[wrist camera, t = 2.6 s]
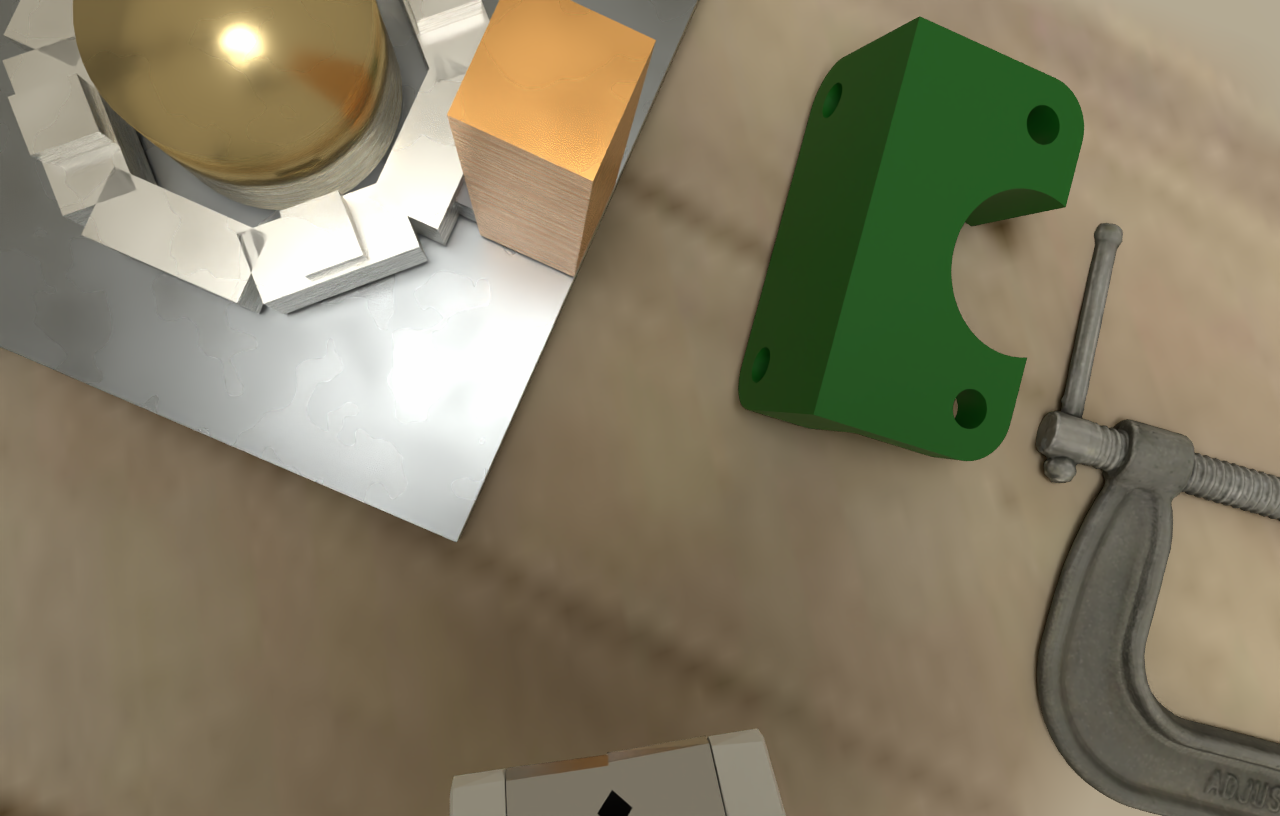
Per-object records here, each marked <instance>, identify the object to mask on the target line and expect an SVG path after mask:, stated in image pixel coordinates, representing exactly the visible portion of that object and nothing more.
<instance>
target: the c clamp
mask: <svg viewBox="0 0 1280 816" xmlns="http://www.w3.org/2000/svg"><path fill="white" fill-rule="evenodd" d="M1122 236H1123V232H1122V229H1121V228H1120V227H1119V226H1117V225H1115V224H1109V223H1104V224H1100V225H1099V226H1098V227H1097V229H1096V231H1095V233H1094V238H1095V248H1094V254H1093V258H1092V262H1091V266H1090V271H1089V276H1088V281H1087V286H1086V291H1085V296H1084V301H1083V306H1082V311H1081V315H1080V320H1079V324H1078V329H1077V335H1076V340H1075V345H1074V350H1073V354H1072V359H1071V364H1070V368H1069V373H1068V378H1067V383H1066V388H1065V394H1064V396H1063V398H1062V399H1061V402H1062V408H1061V412H1059V411H1054V412H1050V413H1048V414H1047V415H1046V416H1045V417H1044V419H1043V420H1042V422H1041V424H1040V426H1039V428H1038V432H1037V438H1036V447H1037V449H1038V451H1039V452H1041V453H1042V454H1044V455H1045V456H1046V457H1047V460H1046V461H1045V463H1044V473H1045V475H1046V476H1047V477H1048V478H1049V479H1050V480H1051V482H1055V483H1066V482H1069V481H1071V480H1072V478H1073V477H1074V476H1075V474H1076V465H1077V464H1083V465H1091V466H1093V467H1095V468H1096V469H1098V468H1101V469H1102V474H1103V476H1104V479H1105V485H1104V487H1103V489H1102V490H1101V492H1100V493H1099V495H1098V496H1097V498H1096V500H1095V501H1094V503H1093V505H1092V507H1091V508H1090V510H1089V512H1088V514H1087V515H1086V517H1085V519H1084V521H1083V523H1082V525H1081V528H1080V530H1079V532H1078V534H1077V536H1076V538H1075V540H1074V542H1073V545H1072V547H1071V549H1070V551H1069V554H1068V556H1067V558H1066V561H1065V563H1064V566H1063V569H1062V572H1061V575H1060V578H1059V581H1058V584H1057V587H1056V590H1055V593H1054V597H1053V600H1052V604H1051V607H1050V611H1049V615H1048V618H1047V622H1046V626H1045V629H1044V633H1043V636H1042V640H1041V644H1040V649H1039V655H1038V664H1037V686H1038V696H1039V701H1040V705H1041V710H1042V714H1043V718H1044V721H1045V724H1046V726H1047V729H1048V731H1049V734H1050V736H1051V738H1052V740H1053V742H1054V743H1055V745H1056V747H1057V749H1058V751H1059V752H1060V753H1061V755H1062V756H1063V757H1064V759H1065V760H1066V762H1067V763H1068V765H1069V766H1070V767H1071V768H1072V769H1073V770H1074V771H1075V772H1076V773H1077V774H1078V775H1079V776H1080V777H1081V778H1082V779H1083V780H1084V781H1085V782H1086V783H1088V784H1089V785H1090V786H1092V787H1093V788H1095V789H1096V790H1097V791H1099V792H1100V793H1102V794H1104V795H1105V796H1107V797H1109V798H1111V799H1113V800H1115V801H1116V802H1118V803H1121V804H1123V805H1126V806H1129V807H1132V808H1135V809H1139V810H1142V811H1146V812H1150V813H1154V814H1158V815H1162V816H1280V744H1278V743H1274V742H1271V741H1266V740H1263V739H1259V738H1255V737H1253V736H1248V735H1244V734H1240V733H1236V732H1233V731H1229V730H1225V729H1221V728H1217V727H1213V726H1209V725H1205V724H1201V723H1196V722H1193V721H1189V720H1185V719H1182V718H1180V717H1178V716H1176V715H1174V714H1173V713H1171V712H1170V711H1168V710H1167V709H1166V708H1164V707H1163V706H1162V705H1161V704H1160V703H1159V702H1158V701H1157V699H1156V698H1155V697H1154V695H1153V694H1152V692H1151V690H1150V688H1149V685H1148V682H1147V677H1146V672H1145V661H1144V653H1145V645H1146V641H1147V637H1148V633H1149V629H1150V626H1151V622H1152V618H1153V615H1154V611H1155V607H1156V603H1157V599H1158V595H1159V592H1160V588H1161V584H1162V580H1163V576H1164V572H1165V568H1166V564H1167V560H1168V557H1169V553H1170V549H1171V542H1172V531H1173V513H1172V507H1171V502H1172V500H1173V498H1174V497H1176V496H1177V495H1178V494H1179V493H1180V492H1185V493H1186V494H1190V495H1194V496H1196V497H1199V498H1200V497H1203V498H1204V499H1206V500H1212V501H1214V502H1215V503H1222V504H1223V505H1231V506H1232V507H1233V508H1240V509H1241V510H1244V511H1248V510H1249V511H1250V512H1251V513H1256V514H1257V513H1258V514H1259V515H1261V516H1268V517H1269V518H1272V519H1278V520H1279V521H1280V477H1275V476H1274V475H1270V474H1266V473H1264V472H1257V471H1256V470H1254V469H1248V468H1246V467H1243V466H1238V465H1236V464H1235V463H1232V464H1230V463H1228V462H1227V461H1220V460H1218V459H1217V458H1210V457H1209V456H1207V455H1205V456H1202V455H1201V454H1199V453H1194V446H1193V443H1192V441H1191V440H1190V439H1189V438H1188V437H1187V436H1184V435H1182V434H1179V433H1175V432H1171V431H1168V430H1165V429H1161V428H1158V427H1154V426H1151V425H1147V424H1144V423H1141V422H1137V421H1133V420H1128V419H1127V420H1124V421H1121V422H1120V423H1118V424H1117V425H1116V426H1115V427H1114V428H1108V427H1107V426H1099V425H1098V424H1097V423H1094V422H1091V421H1089V420H1085V419H1083V418H1082V415H1083V411H1084V404H1085V400H1086V395H1087V391H1088V387H1089V381H1090V376H1091V371H1092V366H1093V361H1094V356H1095V351H1096V346H1097V342H1098V337H1099V332H1100V328H1101V323H1102V317H1103V312H1104V308H1105V303H1106V298H1107V293H1108V288H1109V284H1110V278H1111V274H1112V268H1113V264H1114V260H1115V255H1116V250H1117V248H1118V247H1119V245H1120V244H1121V242H1122Z"/></svg>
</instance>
